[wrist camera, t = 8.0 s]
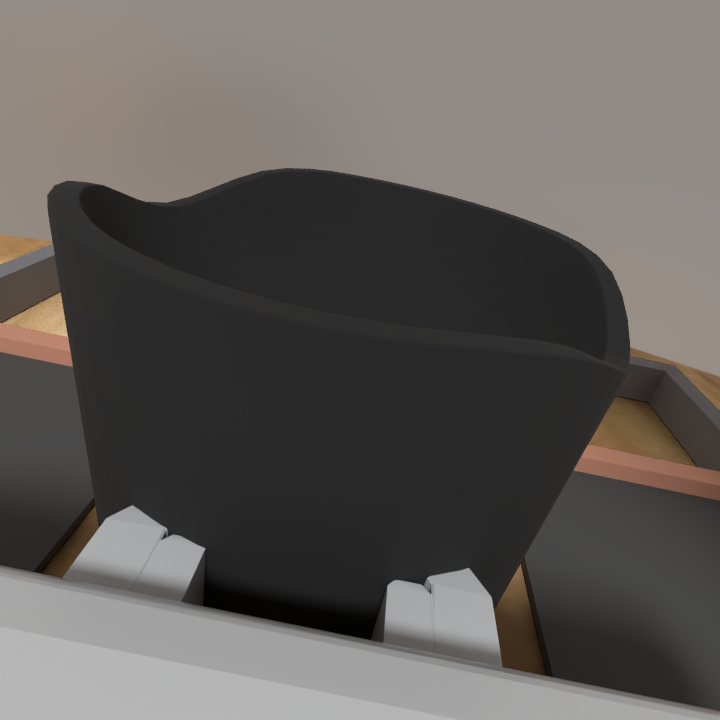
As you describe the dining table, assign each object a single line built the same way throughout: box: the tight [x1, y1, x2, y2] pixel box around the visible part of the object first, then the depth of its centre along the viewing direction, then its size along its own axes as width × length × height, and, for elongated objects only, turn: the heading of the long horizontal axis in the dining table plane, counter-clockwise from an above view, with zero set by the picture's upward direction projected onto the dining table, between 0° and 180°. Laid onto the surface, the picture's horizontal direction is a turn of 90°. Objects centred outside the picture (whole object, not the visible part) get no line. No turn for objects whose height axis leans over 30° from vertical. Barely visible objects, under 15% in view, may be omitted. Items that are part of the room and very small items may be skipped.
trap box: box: [0, 244, 720, 711], centre depth 16 cm, size 26×34×2 cm
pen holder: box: [47, 168, 630, 640], centre depth 11 cm, size 9×9×10 cm
